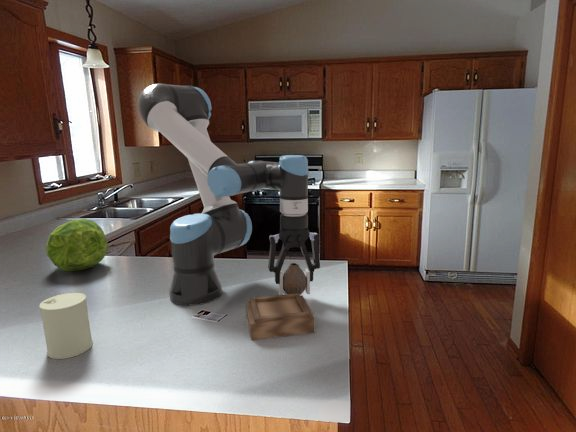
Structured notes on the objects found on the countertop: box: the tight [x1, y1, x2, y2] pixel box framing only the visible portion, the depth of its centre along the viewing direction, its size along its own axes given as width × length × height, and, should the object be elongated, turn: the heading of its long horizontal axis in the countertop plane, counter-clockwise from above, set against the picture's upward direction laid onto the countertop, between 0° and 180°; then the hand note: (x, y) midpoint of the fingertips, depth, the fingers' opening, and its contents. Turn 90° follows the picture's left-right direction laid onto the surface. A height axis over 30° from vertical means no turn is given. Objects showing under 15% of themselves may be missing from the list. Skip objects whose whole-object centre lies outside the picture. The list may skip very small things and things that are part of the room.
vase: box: [283, 262, 306, 295], centre depth 112 cm, size 7×7×9 cm
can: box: [38, 292, 94, 360], centre depth 90 cm, size 9×9×12 cm
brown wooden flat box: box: [245, 293, 315, 341], centre depth 99 cm, size 15×13×5 cm
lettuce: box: [45, 218, 109, 272], centre depth 144 cm, size 19×23×18 cm
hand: (294, 292), depth 113 cm, fingers closed on vase, 7 cm apart
